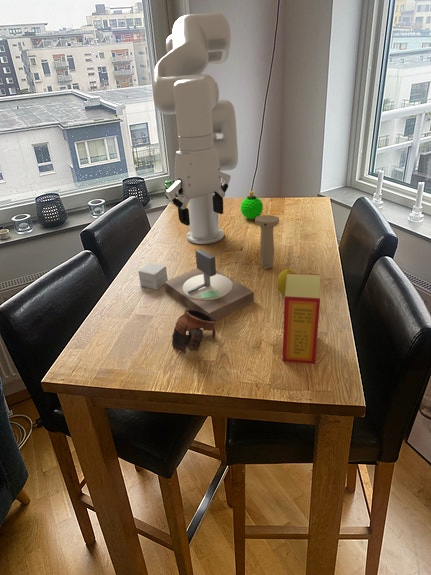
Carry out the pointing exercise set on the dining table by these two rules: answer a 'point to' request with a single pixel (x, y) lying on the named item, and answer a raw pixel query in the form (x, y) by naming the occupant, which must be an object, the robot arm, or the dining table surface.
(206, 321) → the broken clay pot
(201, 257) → the grey block with rod
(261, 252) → the handle
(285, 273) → the lemon
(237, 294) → the board
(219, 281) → the dial
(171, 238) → the dining table surface
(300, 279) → the baking soda box
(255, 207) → the ornament
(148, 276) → the small box
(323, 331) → the dining table surface
